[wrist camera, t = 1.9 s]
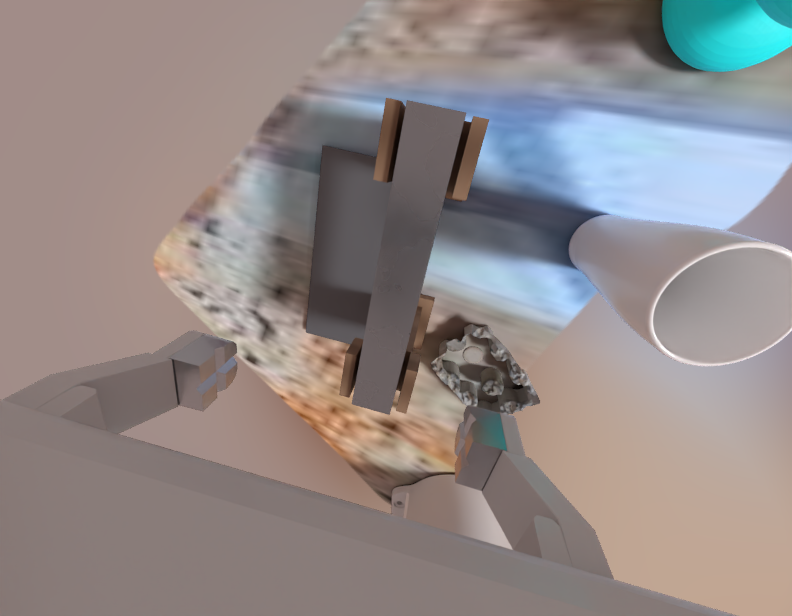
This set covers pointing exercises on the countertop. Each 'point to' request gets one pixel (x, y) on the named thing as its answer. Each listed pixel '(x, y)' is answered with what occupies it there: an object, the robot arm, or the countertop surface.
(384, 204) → the grey flat bar
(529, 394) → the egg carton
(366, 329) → the rail
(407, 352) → the post
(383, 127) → the post
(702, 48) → the donuts
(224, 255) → the countertop surface
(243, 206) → the countertop surface
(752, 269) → the drinking glass
